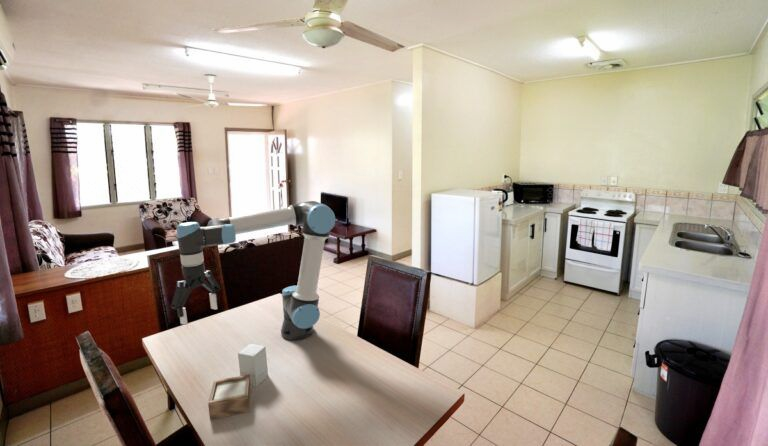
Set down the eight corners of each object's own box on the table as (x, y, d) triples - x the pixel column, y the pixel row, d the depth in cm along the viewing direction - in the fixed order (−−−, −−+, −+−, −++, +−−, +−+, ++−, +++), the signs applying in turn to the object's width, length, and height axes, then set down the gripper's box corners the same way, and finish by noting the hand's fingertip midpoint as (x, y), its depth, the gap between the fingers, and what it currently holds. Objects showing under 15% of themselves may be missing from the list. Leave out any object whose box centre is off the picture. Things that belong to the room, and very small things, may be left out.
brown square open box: (251, 389, 132) (249, 374, 131) (249, 411, 121) (247, 395, 120) (215, 396, 129) (213, 380, 127) (210, 419, 117) (207, 402, 116)
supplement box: (268, 375, 140) (266, 346, 138) (256, 387, 133) (253, 356, 131) (253, 371, 143) (250, 342, 140) (240, 383, 136) (237, 352, 133)
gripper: (212, 253, 147) (218, 301, 151) (153, 273, 125) (162, 329, 129) (226, 255, 144) (232, 304, 148) (168, 275, 122) (177, 333, 126)
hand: (199, 316), depth 139 cm, fingers open, 13 cm apart
